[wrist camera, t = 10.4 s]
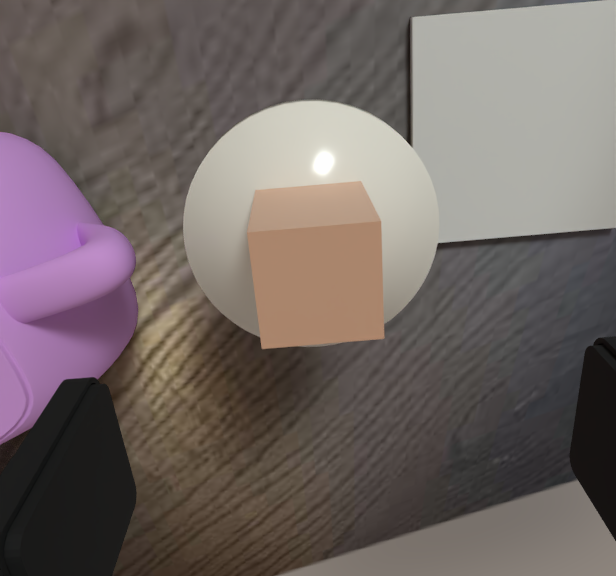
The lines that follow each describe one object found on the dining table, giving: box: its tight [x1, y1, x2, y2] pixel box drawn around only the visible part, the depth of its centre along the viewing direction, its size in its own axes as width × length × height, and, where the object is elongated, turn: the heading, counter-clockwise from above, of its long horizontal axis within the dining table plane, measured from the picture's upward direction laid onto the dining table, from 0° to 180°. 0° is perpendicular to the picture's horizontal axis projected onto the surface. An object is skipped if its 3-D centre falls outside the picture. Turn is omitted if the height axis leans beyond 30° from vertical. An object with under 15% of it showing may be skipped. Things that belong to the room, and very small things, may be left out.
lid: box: [183, 99, 440, 349], centre depth 20 cm, size 10×10×6 cm
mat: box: [410, 0, 616, 243], centre depth 33 cm, size 13×13×1 cm
